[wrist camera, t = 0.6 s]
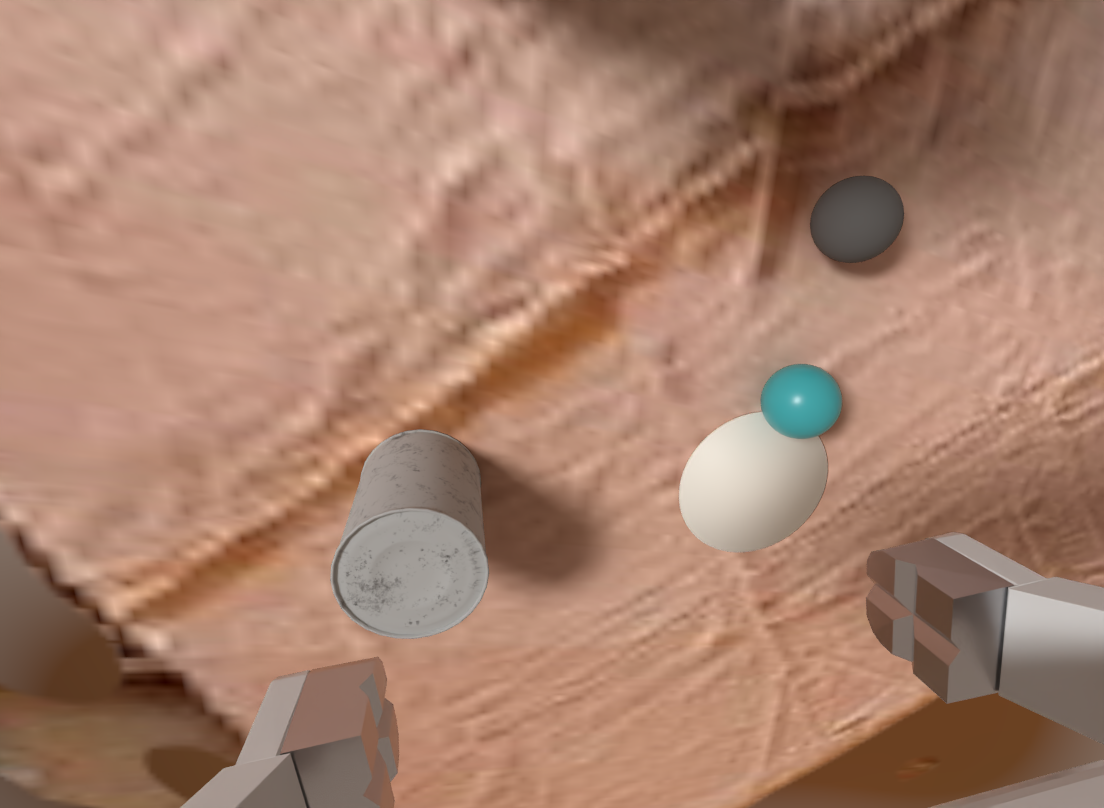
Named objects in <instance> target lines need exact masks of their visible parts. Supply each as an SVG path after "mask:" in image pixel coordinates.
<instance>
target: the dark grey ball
mask: <svg viewBox="0 0 1104 808" xmlns="http://www.w3.org/2000/svg"><path fill="white" fill-rule="evenodd" d="M903 219H904V208H903V203H902V200H901V198H900V196H899V194H898V192H897V191H896V190H895V189H894V188H893V187H892V186H891V185H890V184H889V183H887V182H886V181H884V180H882V179H879V178H876V177H872V176H855V177H850V178H847V179H844V180H842V181H840V182H838V183H836V184H835V185H833V186H832V187H830V188H829V189H828V190H827V191H826V192H825V193H824V194H823V195H822V196H821V197H820V199H819V200H818V201H817V203H816V205H815V207H814V209H813V212H812V216H811V222H810V229H811V235H812V238H813V240H814V243H815V244H816V246H817V247H818V248H819V250H820V251H821V252H822V253H823V254H825V255H826V256H828V257H829V258H831V259H834V260H836V261H840V262H846V263H856V262H862V261H866V260H869V259H871V258H874V257H876V256H877V255H879V254H881V253H882V252H884V251H885V250H886V249H887V248H888V247H889V246H890V245H891V244H892V243H893V242H894V240H895V239H896V237H897V236H898V234H899V232H900V230H901V227H902V224H903Z"/></svg>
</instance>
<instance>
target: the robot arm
mask: <svg viewBox="0 0 1104 808" xmlns="http://www.w3.org/2000/svg"><path fill="white" fill-rule="evenodd" d="M867 575H868V577H869V578H870V579H871V580H872V581H873V583H874V586H873V588H872V589H871V591H870V592H869V594H868V596H867V597H866V609H867V618H868V620H869V623H870V626H871V628H872V631H873V633H874V634H875V636H876V637H877V639H878V640H879V641H880V643H881V644H882V645H883V646H884V647H885V648H886V649H887V650H888V651H889V652H890V653H891V654H893V655H895V656H898V657H901V658H903V659H906V660H908V661H911V662H912V668H913V674H915V675H916V676H917V677H918V678H919V679H920V680H921V681H922V682H923V683H925V684H926V685H927V686H928V687H929V688H930V689H931V690H932V691H933V692H935V693H936V694H937V695H938V696H939V697H940V698H941V699H942V700H944V701H945V702H946V703H952V702H956V701H961V700H966V699H970V698H975V697H979V696H983V695H988V694H992V693H997V692H999V695H1000V696H1002V697H1004V698H1006V699H1008V700H1010V701H1012V702H1014V703H1017V704H1019V705H1021V706H1023V707H1025V708H1028V709H1029V710H1031V711H1034V712H1036V713H1038V714H1040V715H1042V716H1045V717H1046V718H1048V719H1051V720H1053V721H1055V722H1057V723H1059V724H1061V725H1063V726H1065V727H1068V728H1070V729H1072V730H1074V731H1076V732H1078V733H1080V734H1083V735H1085V736H1087V737H1089V738H1091V739H1093V740H1095V741H1097V742H1100V743H1102V744H1104V588H1103V587H1099V586H1094V585H1090V584H1086V583H1081V582H1077V581H1072V580H1068V579H1063V578H1059V577H1052V578H1048V579H1047V578H1045V577H1043V576H1041V575H1039V574H1037V573H1036V572H1034V571H1032V570H1030V569H1028V568H1026V567H1024V566H1023V565H1021V564H1019V563H1017V562H1015V561H1013V560H1011V559H1010V558H1008V557H1006V556H1004V555H1002V554H1000V553H998V552H997V551H995V550H993V549H991V548H989V547H987V546H985V545H984V544H982V543H980V542H978V541H976V540H974V539H972V538H971V537H969V536H967V535H965V534H962V533H956V532H950V533H946V534H942V535H938V536H934V537H930V538H926V539H925V540H921V541H917V542H913V543H908V544H904V545H899V546H895V547H891V548H886V549H882V550H877V551H873V552H871V553H870V556H869V558H868V560H867ZM386 685H387V677H386V673H385V670H384V666H383V662H382V661H381V659H380V658H379V657H374V658H369V659H364V660H359V661H354V662H348V663H343V664H338V665H333V666H328V667H322V668H317V669H313V670H311V671H310V670H307V671H302V672H298V673H293V674H288V675H284V676H279V677H277V678H276V679H274V680H273V681H272V682H271V684H270V686H269V688H268V690H267V693H266V695H265V697H264V700H263V702H262V704H261V707H260V709H259V711H258V714H257V716H256V718H255V721H254V723H253V725H252V728H251V730H250V732H249V735H248V737H247V739H246V742H245V744H244V746H243V749H242V751H241V753H240V756H239V758H238V760H237V763H236V765H235V766H231V767H227V768H224V769H223V770H222V771H220V772H219V773H218V774H217V775H216V776H215V777H214V778H213V779H212V780H210V781H209V782H208V783H207V784H206V785H205V786H204V787H203V788H202V789H200V790H199V791H198V792H197V793H196V794H195V795H194V796H193V797H192V798H191V799H189V800H188V801H187V802H186V803H185V804H184V805H183V806H182V807H181V808H394V803H395V800H394V795H393V791H392V787H391V783H390V782H391V781H392V780H393V778H394V777H395V776H396V774H397V773H398V763H399V734H398V727H397V720H396V715H395V710H394V706H393V704H392V703H391V702H390V701H388V700H387V699H386V698H385V692H386ZM929 808H1104V759H1103V760H1099V761H1096V762H1092V763H1088V764H1085V765H1081V766H1078V767H1074V768H1070V769H1067V770H1063V771H1060V772H1056V773H1052V774H1049V775H1045V776H1042V777H1038V778H1034V779H1031V780H1027V781H1023V782H1020V783H1016V784H1013V785H1009V786H1005V787H1001V788H998V789H994V790H991V791H987V792H983V793H980V794H976V795H973V796H969V797H966V798H962V799H958V800H954V801H951V802H947V803H944V804H940V805H936V806H933V807H929Z"/></svg>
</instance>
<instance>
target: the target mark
mask: <svg viewBox="0 0 1104 808" xmlns="http://www.w3.org/2000/svg"><path fill="white" fill-rule="evenodd" d="M827 474H828V462H827V455H826V451H825V448H824V446H823V443H822V441H821V439H820V438H819V436H816V437H813V438H808V439H795V438H790V437H787V436H784V435H782V434H780V433H778V432H777V431H775V430H774V429H773V428H772V427H771V426H770V425H769V424H768V422H767V421H766V419H765V417H764V415H763V412H754V413H750V414H745V415H742V416H740V417H737V418H734V419H732V420H730V421H728V422H726V423H724V424H723V425H721V426H720V427H718V428H716V429H715V430H714V431H713V432H711V433H710V434H709V435H708V436H707V437H706V438H705V439H704V440H703V441H702V442H701V443H700V444H699V445H698V446H697V448H696V449H695V450H694V451H693V453H692V455H691V456H690V458H689V460H688V461H687V464H686V466H685V468H684V470H683V473H682V476H681V480H680V486H679V506H680V510H681V514H682V516H683V519H684V521H685V523H686V525H687V526H688V528H689V529H690V531H691V532H692V533H693V534H694V535H695V536H696V537H697V538H698V539H699V540H701V541H702V542H703V543H705V544H707V545H709V546H711V547H713V548H716V549H718V550H723V551H727V552H749V551H755V550H759V549H763V548H766V547H768V546H771V545H773V544H775V543H777V542H779V541H781V540H783V539H785V538H786V537H788V536H789V535H791V534H792V533H793V532H794V531H796V530H797V529H798V528H799V527H800V526H801V525H802V524H803V523H804V522H805V521H806V520H807V519H808V518H809V516H810V515H811V514H812V512H813V511H814V510H815V508H816V506H817V505H818V503H819V501H820V499H821V497H822V494H823V492H824V489H825V485H826V481H827Z"/></svg>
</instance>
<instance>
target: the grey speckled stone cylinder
mask: <svg viewBox="0 0 1104 808" xmlns="http://www.w3.org/2000/svg"><path fill="white" fill-rule="evenodd" d="M480 488H481V477H480V470H479V468H478V465H477V462H476V460H475V458H474V457H473V455H472V454H471V453H470V451H469V450H468V449H467V448H466V447H465V446H464V445H463V444H462V443H460V442H459V441H458V440H456V439H454V438H452V437H450V436H449V435H447V434H443V433H440V432H437V431H432V430H421V429H420V430H411V431H405V432H402V433H399V434H396V435H393V436H391V437H390V438H388V439H386V440H385V441H383V442H381V443H380V444H379V445H378V446H377V447H376V448H375V449H374V450H373V451H372V452H371V454H370V455H369V457H368V458H367V460H366V461H365V464H364V467H363V470H362V473H361V480H360V483H359V486H358V489H357V492H356V495H355V498H354V502H353V505H352V508H351V511H350V514H349V517H348V520H347V523H346V526H345V529H344V533H343V536H342V539H341V542H340V545H339V546H338V548H337V550H336V553H335V556H334V559H333V561H332V564H331V585H332V589H333V593H334V596H335V598H336V600H337V602H338V603H339V605H340V607H341V609H342V610H343V611H344V612H345V613H346V614H347V615H348V616H349V617H350V618H351V620H353V621H354V622H356V623H357V624H359V625H360V626H362V627H363V628H365V629H367V630H369V631H372V632H374V633H376V634H379V635H382V636H387V637H392V638H402V639H415V638H422V637H428V636H432V635H435V634H438V633H441V632H444V631H446V630H448V629H450V628H452V627H453V626H455V625H457V624H459V623H460V622H461V621H463V620H464V619H465V618H466V617H467V616H468V615H470V614H471V613H472V612H473V610H474V609H475V608H476V606H477V605H478V604H479V602H480V601H481V599H482V597H483V594H484V592H485V590H486V587H487V583H488V576H489V567H488V558H487V555H486V548H485V536H484V525H483V513H482V501H481V489H480Z"/></svg>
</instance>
